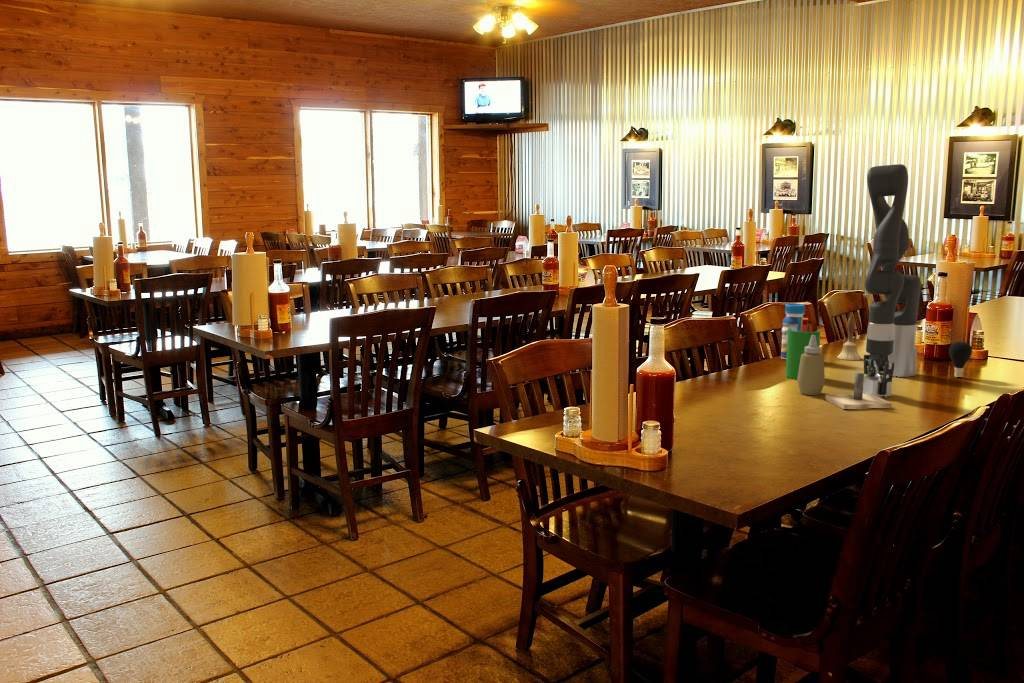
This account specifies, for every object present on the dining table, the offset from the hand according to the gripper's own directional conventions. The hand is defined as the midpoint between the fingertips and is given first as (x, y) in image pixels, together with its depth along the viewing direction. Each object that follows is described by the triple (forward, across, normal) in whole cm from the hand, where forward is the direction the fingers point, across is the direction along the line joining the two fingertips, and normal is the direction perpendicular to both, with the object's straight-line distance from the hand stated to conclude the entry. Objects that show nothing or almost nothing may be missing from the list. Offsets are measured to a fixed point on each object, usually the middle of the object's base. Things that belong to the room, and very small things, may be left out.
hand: (876, 392), depth 268 cm
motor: (+1, +26, +12) cm, 29 cm away
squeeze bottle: (+1, +4, +19) cm, 19 cm away
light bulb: (+1, +19, -38) cm, 43 cm away
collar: (+1, 0, 0) cm, 1 cm away
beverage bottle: (+1, +55, +3) cm, 55 cm away
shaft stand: (+1, -10, +11) cm, 15 cm away
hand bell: (+1, +54, -18) cm, 57 cm away
